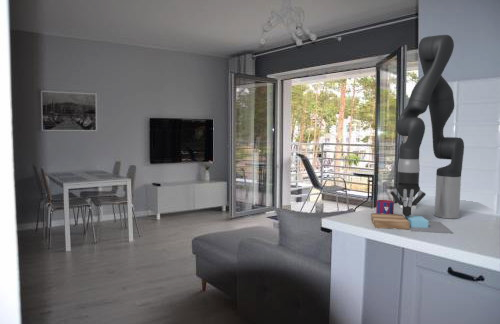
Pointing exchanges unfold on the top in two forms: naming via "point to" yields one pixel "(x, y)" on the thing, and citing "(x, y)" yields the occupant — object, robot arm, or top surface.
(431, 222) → the mat
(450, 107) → the robot arm
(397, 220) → the deck
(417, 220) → the light blue block
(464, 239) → the top surface
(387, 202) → the mug
